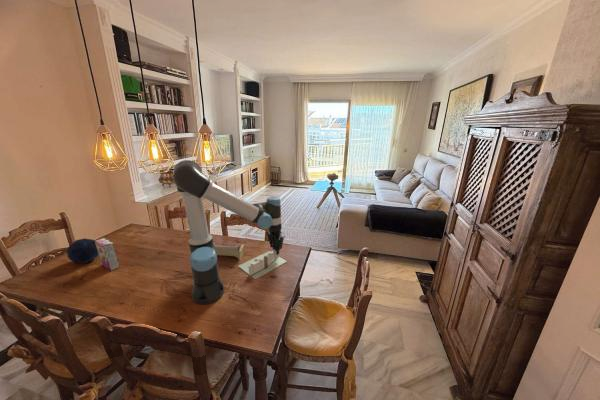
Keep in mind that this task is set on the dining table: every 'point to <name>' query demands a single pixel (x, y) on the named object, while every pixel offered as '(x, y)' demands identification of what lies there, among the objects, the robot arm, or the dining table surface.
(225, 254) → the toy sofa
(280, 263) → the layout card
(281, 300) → the dining table surface
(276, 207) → the robot arm
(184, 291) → the dining table surface
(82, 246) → the decorative orb
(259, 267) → the fence fixed panel
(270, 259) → the fence hinged panel
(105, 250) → the candy bar box
